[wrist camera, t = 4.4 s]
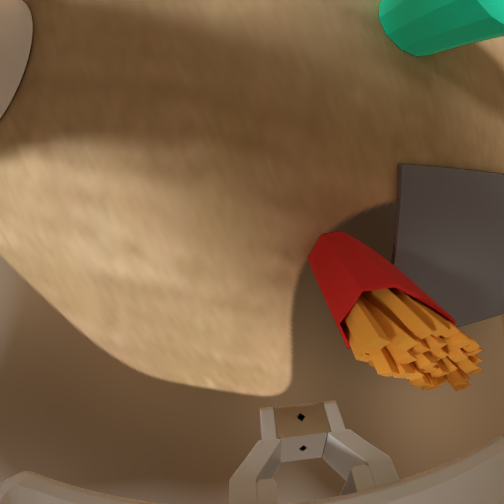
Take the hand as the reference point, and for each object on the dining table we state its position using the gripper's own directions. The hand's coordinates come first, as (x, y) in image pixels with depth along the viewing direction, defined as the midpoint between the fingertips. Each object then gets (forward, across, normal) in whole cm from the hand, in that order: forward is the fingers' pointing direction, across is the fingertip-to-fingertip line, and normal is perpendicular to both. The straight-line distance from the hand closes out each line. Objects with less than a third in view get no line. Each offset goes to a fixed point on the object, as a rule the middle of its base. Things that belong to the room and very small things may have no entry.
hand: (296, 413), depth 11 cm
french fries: (+13, -7, 0) cm, 15 cm away
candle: (+13, -12, -20) cm, 27 cm away
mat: (+14, -20, 0) cm, 24 cm away
